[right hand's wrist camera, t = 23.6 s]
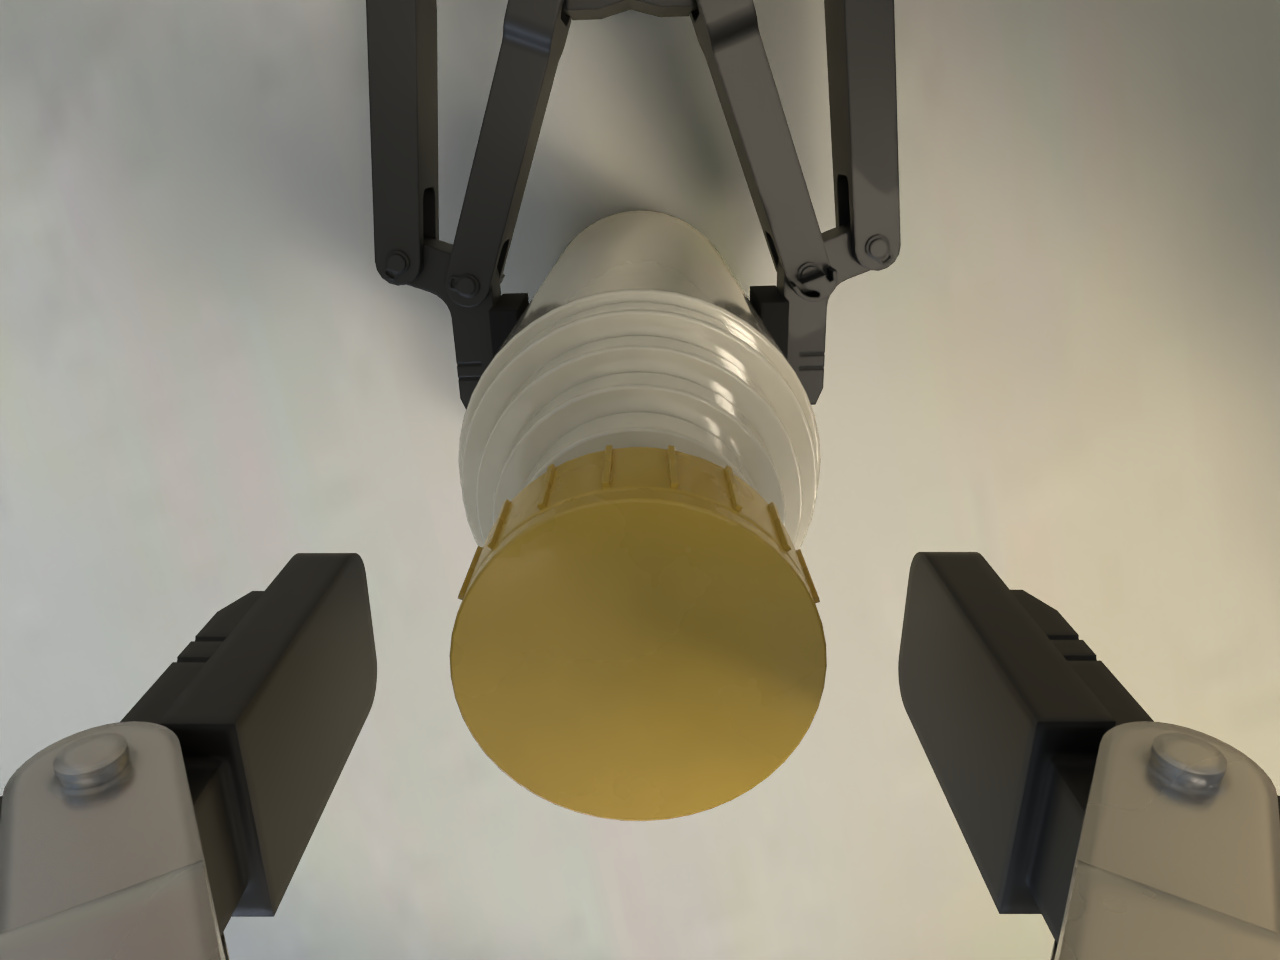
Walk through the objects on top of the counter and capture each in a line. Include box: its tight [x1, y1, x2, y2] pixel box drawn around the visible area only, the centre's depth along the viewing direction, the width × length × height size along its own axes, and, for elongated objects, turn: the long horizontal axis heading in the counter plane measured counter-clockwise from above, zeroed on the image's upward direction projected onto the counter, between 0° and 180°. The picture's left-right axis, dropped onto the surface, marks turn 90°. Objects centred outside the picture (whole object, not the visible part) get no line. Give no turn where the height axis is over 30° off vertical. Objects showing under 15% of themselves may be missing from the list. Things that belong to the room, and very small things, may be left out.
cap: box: [450, 445, 827, 821], centre depth 11 cm, size 4×4×2 cm
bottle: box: [459, 210, 821, 550], centre depth 21 cm, size 7×7×23 cm
